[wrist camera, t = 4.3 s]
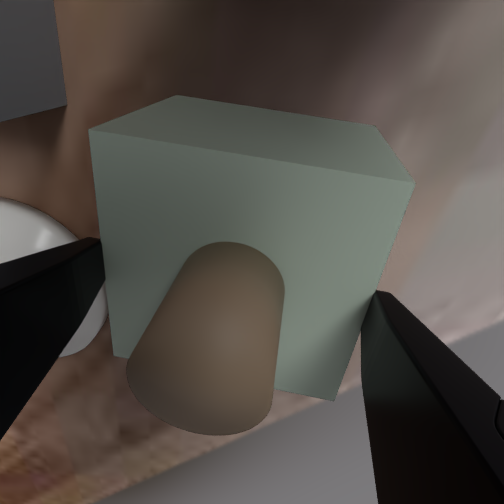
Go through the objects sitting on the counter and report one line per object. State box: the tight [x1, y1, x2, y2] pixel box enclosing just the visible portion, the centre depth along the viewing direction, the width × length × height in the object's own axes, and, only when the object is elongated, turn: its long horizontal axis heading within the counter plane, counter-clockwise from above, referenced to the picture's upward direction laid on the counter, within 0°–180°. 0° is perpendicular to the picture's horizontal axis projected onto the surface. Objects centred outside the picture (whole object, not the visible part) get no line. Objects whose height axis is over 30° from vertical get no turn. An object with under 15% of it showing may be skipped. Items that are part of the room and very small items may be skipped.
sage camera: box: [88, 95, 416, 435], centre depth 10 cm, size 7×7×8 cm
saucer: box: [0, 197, 109, 357], centre depth 20 cm, size 10×10×1 cm
